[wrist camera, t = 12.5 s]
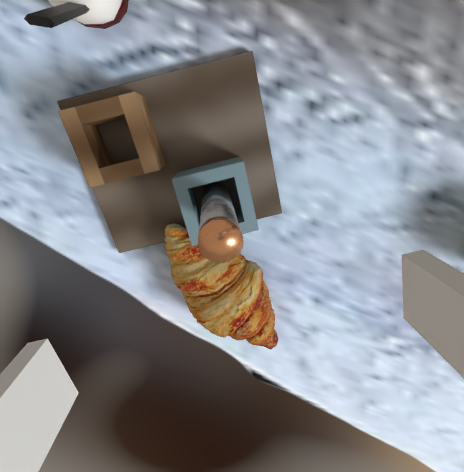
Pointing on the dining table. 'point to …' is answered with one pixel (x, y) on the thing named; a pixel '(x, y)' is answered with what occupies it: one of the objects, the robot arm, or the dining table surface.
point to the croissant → (222, 291)
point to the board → (186, 145)
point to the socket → (210, 174)
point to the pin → (218, 225)
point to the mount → (93, 147)
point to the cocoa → (80, 13)
